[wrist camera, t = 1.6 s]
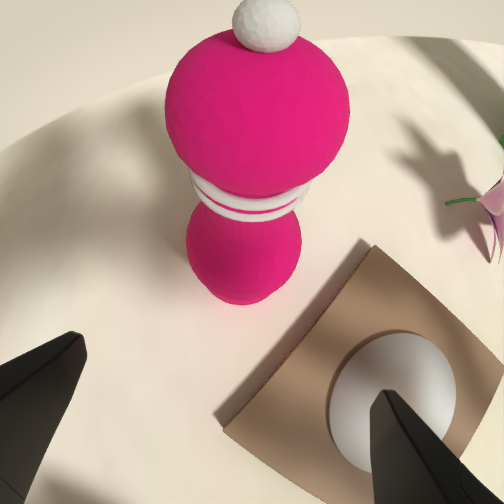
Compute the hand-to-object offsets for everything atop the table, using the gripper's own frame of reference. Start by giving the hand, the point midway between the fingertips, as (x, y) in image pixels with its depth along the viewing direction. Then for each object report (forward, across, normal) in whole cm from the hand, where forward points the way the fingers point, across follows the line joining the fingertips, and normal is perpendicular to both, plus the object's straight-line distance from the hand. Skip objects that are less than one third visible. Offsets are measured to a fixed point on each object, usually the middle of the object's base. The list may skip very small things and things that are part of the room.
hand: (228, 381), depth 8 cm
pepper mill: (+16, +1, +4) cm, 16 cm away
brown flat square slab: (+9, -12, +11) cm, 19 cm away
